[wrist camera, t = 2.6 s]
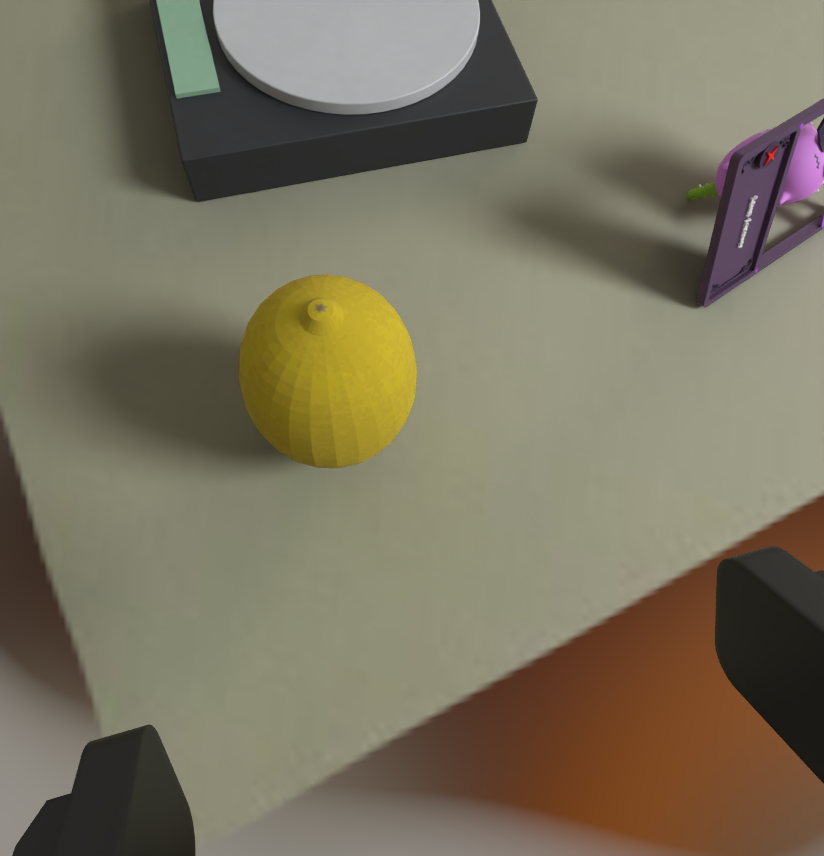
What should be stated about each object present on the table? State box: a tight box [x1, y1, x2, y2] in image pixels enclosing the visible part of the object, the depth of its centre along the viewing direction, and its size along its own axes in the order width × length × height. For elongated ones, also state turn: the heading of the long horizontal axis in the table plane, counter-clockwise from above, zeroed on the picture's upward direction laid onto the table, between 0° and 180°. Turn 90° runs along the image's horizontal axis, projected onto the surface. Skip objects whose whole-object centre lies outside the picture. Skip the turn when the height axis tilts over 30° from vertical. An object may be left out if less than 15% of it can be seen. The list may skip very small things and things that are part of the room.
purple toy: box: [687, 99, 824, 307], centre depth 27 cm, size 7×5×9 cm
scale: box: [150, 0, 537, 202], centre depth 31 cm, size 15×13×3 cm
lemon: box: [239, 275, 417, 468], centre depth 22 cm, size 6×6×8 cm
